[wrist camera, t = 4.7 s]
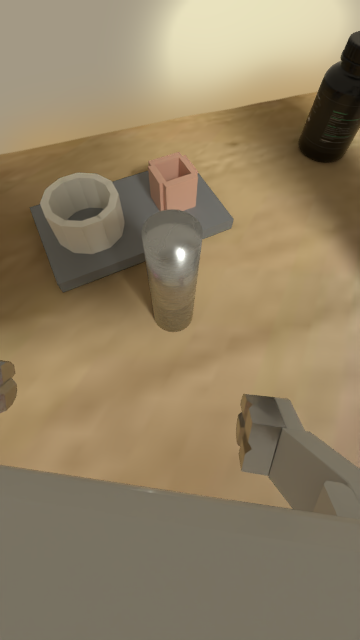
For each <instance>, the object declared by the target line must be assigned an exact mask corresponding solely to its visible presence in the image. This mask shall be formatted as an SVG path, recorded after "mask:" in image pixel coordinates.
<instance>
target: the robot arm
mask: <svg viewBox="0 0 360 640" xmlns="http://www.w3.org/2000/svg"><path fill="white" fill-rule="evenodd" d="M14 374H15V367H14V364H13V363H11V362H9V361H2V360H0V413H1V412H4V411H6V410H7V409H8V408H9V407H10V406H11V405H12V404H13V402H14V400H15V398H16V394H17V384H16V383H15V381H14V380H13V379H12V377H13V376H14ZM241 410H242V412H241V413H240V414H239V415H238V418H237V425H236V440H237V444H238V445H239V446H240V450H239V460H240V466H241V471H244V472H249V473H255V474H261V475H266V476H269V478H270V480H271V481H272V482H273V484H274V485H275V486H276V487H277V489H278V490H279V491H280V493H281V494H282V495H283V497H284V498H285V499H286V500H287V502H288V503H289V504H290V506H291V507H292V508H293V509H288V508H282V507H275V506H269V505H262V504H255V503H249V502H242V501H235V500H229V499H222V498H216V497H209V496H202V495H196V494H189V493H183V492H176V491H170V490H163V489H157V488H150V487H144V486H137V485H130V484H124V483H117V482H111V481H104V480H98V479H91V478H84V477H78V476H71V475H64V474H58V473H51V472H44V471H38V470H31V469H25V468H18V467H12V466H5V465H0V640H360V469H359V468H358V467H356V466H355V465H354V464H352V463H351V462H350V461H348V460H347V459H346V458H344V457H343V456H342V455H340V454H339V453H338V452H336V451H335V450H334V449H332V448H331V447H330V446H328V445H327V444H326V443H324V442H323V441H322V440H320V439H319V438H318V437H316V436H315V435H314V434H312V433H311V432H308V431H305V430H304V428H303V426H302V424H301V422H300V420H299V418H298V416H297V414H296V412H295V410H294V408H293V405H292V403H291V401H290V400H289V399H287V398H277V397H267V396H258V395H249V394H243V396H242V399H241Z"/></svg>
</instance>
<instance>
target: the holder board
mask: <svg viewBox="0 0 360 640" xmlns="http://www.w3.org/2000/svg"><path fill="white" fill-rule="evenodd" d="M148 162H149V166H148V171H145V172H142V173H139V174H136V175H133V176H129V177H126V178H123V179H120V180H116V181H113V182H112V181H110V180H108V179H106V178H104V177H102V176H100V175H98V174H94V173H75V174H71V175H68V176H65V177H61V178H59V179H58V180H56V181H55V182H54V183H53V184H51V185H50V186H49V187H47V188H46V189H45V191H44V194H43V197H42V199H41V202H40V204H39V205H36V206H33V207H30V210H31V213H32V215H33V218H34V221H35V224H36V226H37V229H38V232H39V235H40V237H41V240H42V243H43V246H44V248H45V251H46V254H47V257H48V259H49V262H50V265H51V268H52V270H53V273H54V276H55V279H56V281H57V284H58V286H59V287H60V289H61V290H62V292H66V291H68V290H71V289H73V288H76V287H79V286H81V285H84V284H87V283H89V282H92V281H94V280H97V279H100V278H102V277H105V276H108V275H110V274H113V273H115V272H118V271H121V270H123V269H126V268H128V267H131V266H134V265H136V264H139V263H142V262H144V261H146V260H145V254H144V247H143V241H142V227H143V225H144V223H145V221H146V220H147V219H148V218H149V217H150V216H152V215H153V214H155V213H157V212H159V211H163V210H170V209H175V210H181V211H185V212H187V213H189V214H191V215H193V216H194V217H195V218H196V219H197V220H198V221H199V222H200V224H201V226H202V230H203V236H202V239H204V238H207V237H210V236H212V235H215V234H217V233H220V232H223V231H225V230H228V229H230V228H231V227H232V223H233V218H232V216H231V215H230V214H229V212H228V211H227V210H226V209H225V207H224V206H223V205H222V203H221V202H220V201H219V199H218V198H217V197H216V195H215V194H214V193H213V192H212V190H211V189H210V188H209V186H208V185H207V184H206V182H205V181H204V180H203V178H202V177H201V176H200V175H199V173H198V171H197V170H196V168H195V167H194V166H193V164H192V163H191V162H190V160H189V159H188V158H187V156H186V155H184V156H182V155H181V154H180V152H177V153H174V154H170V155H167V156H164V157H161V158H157V159H154V160H151V161H148Z"/></svg>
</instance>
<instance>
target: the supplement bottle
mask: <svg viewBox="0 0 360 640" xmlns="http://www.w3.org/2000/svg"><path fill="white" fill-rule="evenodd" d="M359 128H360V31H358V32H355V33H353V34H351V36H350V37H349V39H348V42H347V44H346V46H345V49H344V50H343V52H342V55H341V61H340V62H338V63H336V64H334V65H333V66H332V67H330V68H329V70H328V71H327V72H326V74H325V76H324V78H323V80H322V83H321V85H320V88H319V90H318V93H317V95H316V98H315V100H314V103H313V105H312V108H311V110H310V113H309V116H308V118H307V121H306V123H305V126H304V128H303V131H302V133H301V136H300V139H299V148H300V150H301V152H302V153H303V154H304V155H305V156H307V157H308V158H310V159H312V160H315V161H319V162H333V161H336V160H338V159H340V158H341V157H342V156H343V155H344V154H345V153H346V151H347V149H348V147H349V146H350V144H351V142H352V140H353V139H354V137H355V135H356V133H357V132H358V130H359Z"/></svg>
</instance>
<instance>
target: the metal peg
mask: <svg viewBox="0 0 360 640" xmlns="http://www.w3.org/2000/svg"><path fill="white" fill-rule="evenodd" d="M202 236H203V230H202V226H201V224H200V222H199V221H198V220H197V219H196V218H195V217H194V216H193V215H191V214H189V213H187V212H185V211H181V210H175V209H170V210H163V211H159V212H157V213H155V214H153V215H152V216H150V217H149V218H148V219H147V220H146V221H145V223H144V225H143V227H142V241H143V247H144V254H145V260H146V267H147V273H148V280H149V286H150V293H151V299H152V306H153V312H154V318H155V321H156V323H157V324H158V326H159V327H160V328H162V329H164V330H166V331H169V332H177V331H181V330H183V329H185V328H186V327H187V326H188V325H189V324H190V322H191V320H192V315H193V307H194V299H195V292H196V284H197V276H198V268H199V260H200V252H201V244H202Z"/></svg>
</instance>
